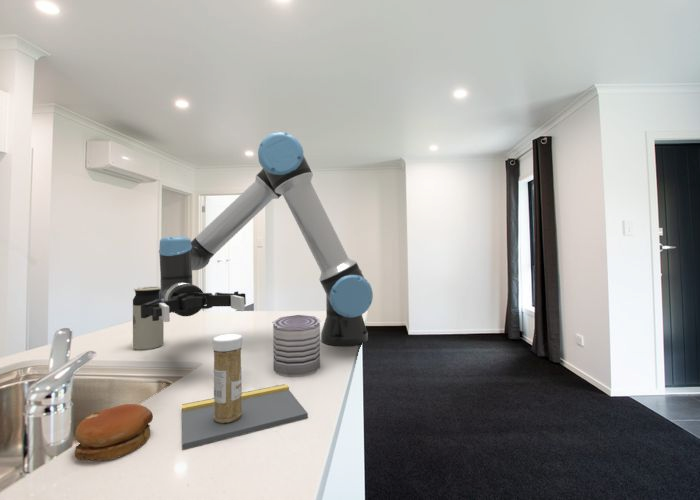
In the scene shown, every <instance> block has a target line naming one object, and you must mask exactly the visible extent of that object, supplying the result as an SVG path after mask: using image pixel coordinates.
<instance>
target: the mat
mask: <svg viewBox="0 0 700 500" xmlns="http://www.w3.org/2000/svg"><path fill="white" fill-rule="evenodd" d="M214 403H215V401H214V397H213V398H208V399H203V400H197V401H192V402H187V403H182V404H181V428H182V429H181V431H182V432H181V433H182V434H181V436H182V438H181V439H182V441H181V443H182V444H181V445H182V450H186V449H187V450H188V449H191V448H193V447H194V448H195V447H199V446H202V445H206V444H207V445H208V444H211V443H215V442H218V441H223V440H226V439H230V438H233V437H239V436H241V435H246V434H250V433H253V432H258V431H261V430H267V429H270V428H272V427H276V426H282V425H284V424H285V425H286V424H289V423H294V422H297V421H301V420H305V419H309V418H308V417H309V416H308V415H309V412H308V411H306V410H305V408H304V407H303V405H302V404H301V403H300V402H299V400H298V399H297V398H296V397H295V396H294V394H293V393H292V392H291V391H290V386H289V385H288V384H287V383H286V384H285V383H283V384H279V385H273V386H268V387H262V388H258V389H253V390H247V391H244V392H242V395H241V409H242V415H241V417H240V418H238V419H237V420H235V421H233V422H228V423H219V422H216V421H215V420H214V414H215V404H214Z"/></svg>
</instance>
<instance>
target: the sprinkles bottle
mask: <svg viewBox="0 0 700 500" xmlns="http://www.w3.org/2000/svg"><path fill="white" fill-rule="evenodd" d="M242 346H243V336H242V335H241V334H236V333H229V334H227V333H226V334H221V335H217V336H215V337H214V338H213V339H212V350H213V359H214V360H213V398H214V401H215V403H214V404H215V414H214V420H215V421H216V422H219V423H228V422H233V421H235V420H237V419H238V418H240V417H241V415H242V409H241V395H242V389H243V388H242V351H241V350H242Z"/></svg>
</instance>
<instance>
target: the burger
mask: <svg viewBox="0 0 700 500" xmlns="http://www.w3.org/2000/svg"><path fill="white" fill-rule="evenodd" d="M153 419H154V415H153V412H152V411H151V409H149V408H148V407H146V406H144V405H141V404H134V403H127V404H126V403H125V404H121V405H116V406H113V407H110V408H106V409H101V410H99V411H95V412H92V413H90V414H89V415H88V416H85V417H84V418H83V419H82V420H81V421H80V422H79V424H78V425H77V426H76V429H75V432H74V437H75V440H76V442H78V444H77V445H76V446H75V449H74V457H75V458H77V459H78V460H82V461H83V460H89V461H90V460H91V461H104V460H113V459H114V460H115V459H117V458H119V457H122V456H125V455H127V454H130V453H132V452H134V451H135V450H138V449H139V448H140V447H142V446H143V445H144V444H145V443H146V442H148V440H149V438H150V437H151V429H150V427H151V425H150V423H152V421H153ZM79 443H80V444H79Z"/></svg>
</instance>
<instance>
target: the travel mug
mask: <svg viewBox="0 0 700 500" xmlns="http://www.w3.org/2000/svg"><path fill="white" fill-rule="evenodd" d="M160 289H161V286H142V287H134V289H133V291H134V293H135V295H134V297H133V299H132V349H134V350H136V351H146V349H148V350H153V349H152V348H154V349H157V347H158V348H160V347H161V346H163V345H164V340H165V339H164V330H165V329H164V324H165V322H164V321H163V320H162V319H161V318H160V316H159V320H158V321H152V316H149V317H147V318H141V305H143V304H145V303H148V302H151V301H154V300H155V299H157V298H159V292H160Z"/></svg>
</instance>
